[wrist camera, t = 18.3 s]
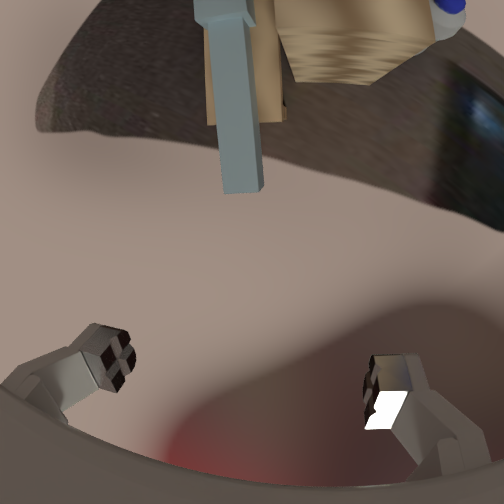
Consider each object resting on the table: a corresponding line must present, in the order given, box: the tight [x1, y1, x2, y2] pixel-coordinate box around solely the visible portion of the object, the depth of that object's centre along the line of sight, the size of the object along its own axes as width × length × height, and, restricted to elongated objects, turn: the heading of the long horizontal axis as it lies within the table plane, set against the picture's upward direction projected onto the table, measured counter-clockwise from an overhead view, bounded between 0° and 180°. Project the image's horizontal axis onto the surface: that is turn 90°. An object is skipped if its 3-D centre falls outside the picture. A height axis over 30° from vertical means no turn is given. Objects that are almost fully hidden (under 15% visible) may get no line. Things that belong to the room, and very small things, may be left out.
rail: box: [194, 0, 264, 194], centre depth 26 cm, size 5×23×5 cm, turn 5°
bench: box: [204, 0, 287, 125], centre depth 32 cm, size 8×20×14 cm, turn 2°
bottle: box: [415, 0, 466, 55], centre depth 23 cm, size 7×7×20 cm
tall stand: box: [274, 0, 436, 85], centre depth 23 cm, size 11×14×26 cm
